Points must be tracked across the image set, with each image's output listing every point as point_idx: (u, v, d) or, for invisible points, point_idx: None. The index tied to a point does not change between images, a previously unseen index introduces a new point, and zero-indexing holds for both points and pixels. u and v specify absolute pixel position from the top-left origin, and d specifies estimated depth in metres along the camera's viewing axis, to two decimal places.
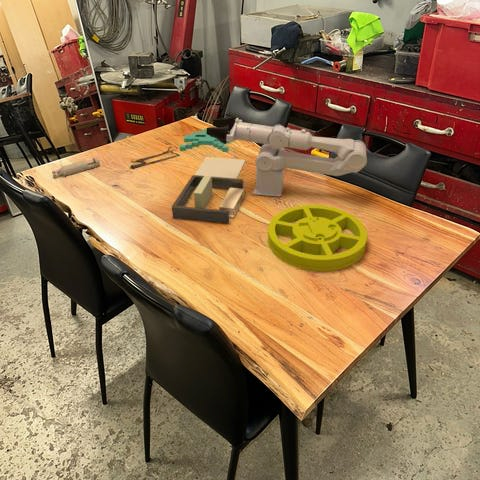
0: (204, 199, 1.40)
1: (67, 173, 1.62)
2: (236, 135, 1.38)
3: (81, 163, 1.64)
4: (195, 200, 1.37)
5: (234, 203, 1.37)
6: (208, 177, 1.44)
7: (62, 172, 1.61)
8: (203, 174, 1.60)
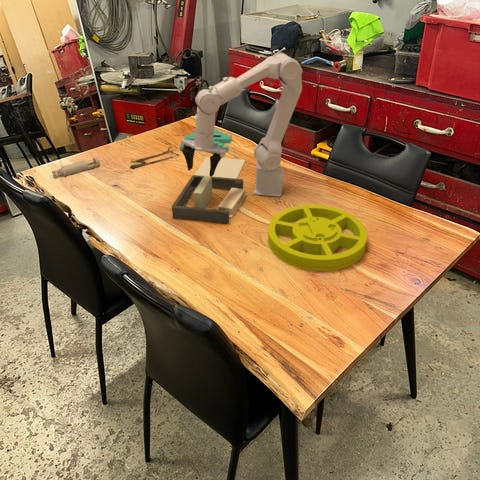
0: (204, 199, 1.40)
1: (67, 173, 1.62)
2: (212, 145, 1.34)
3: (81, 163, 1.64)
4: (195, 200, 1.37)
5: (233, 203, 1.37)
6: (208, 177, 1.44)
7: (62, 172, 1.61)
8: (203, 174, 1.60)
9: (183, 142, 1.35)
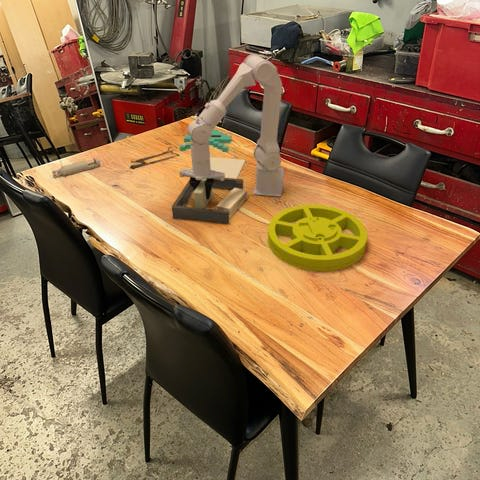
0: (204, 199, 1.40)
1: (67, 173, 1.62)
2: (210, 171, 1.38)
3: (81, 163, 1.64)
4: (195, 200, 1.37)
5: (232, 203, 1.37)
6: None
7: (62, 172, 1.61)
8: None
9: (182, 173, 1.39)
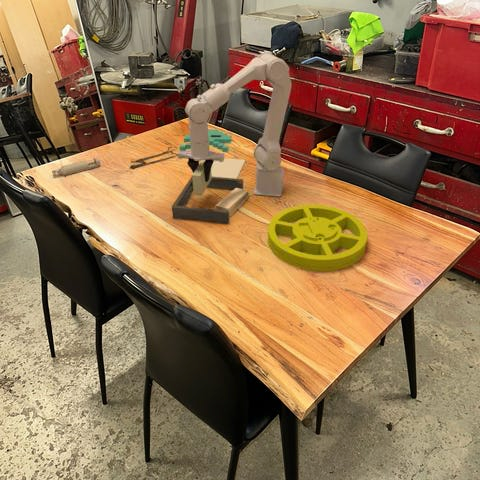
0: (203, 182, 1.37)
1: (67, 173, 1.62)
2: (209, 152, 1.34)
3: (81, 163, 1.64)
4: (193, 183, 1.34)
5: (231, 203, 1.37)
6: None
7: (62, 172, 1.61)
8: None
9: (180, 154, 1.35)
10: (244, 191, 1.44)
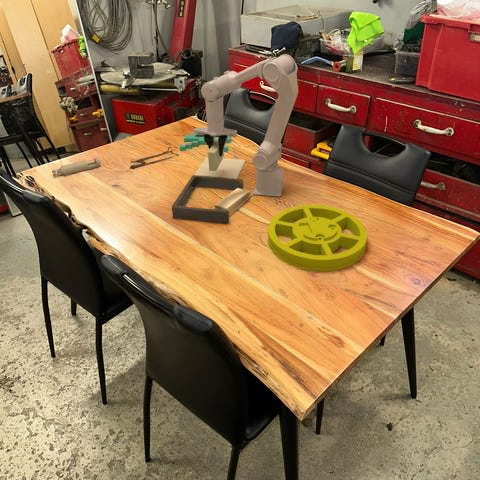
0: (217, 159, 1.51)
1: (67, 172, 1.62)
2: (223, 128, 1.48)
3: (81, 163, 1.64)
4: (209, 159, 1.48)
5: (230, 203, 1.37)
6: None
7: (62, 171, 1.61)
8: (203, 174, 1.60)
9: (197, 131, 1.49)
10: (245, 192, 1.43)
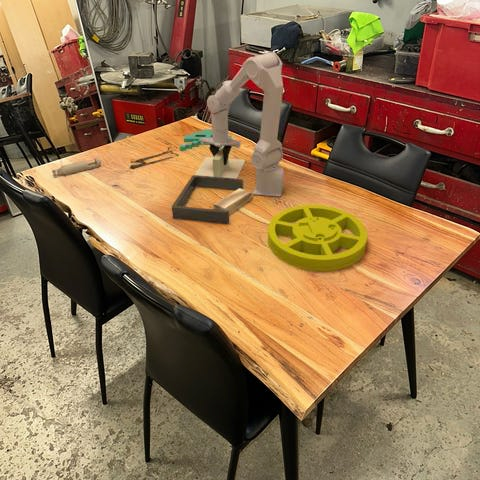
0: (222, 166, 1.58)
1: (67, 172, 1.62)
2: (228, 139, 1.56)
3: (81, 163, 1.64)
4: (213, 166, 1.56)
5: (229, 203, 1.37)
6: None
7: (62, 171, 1.61)
8: (203, 174, 1.60)
9: (203, 141, 1.57)
10: (246, 192, 1.43)
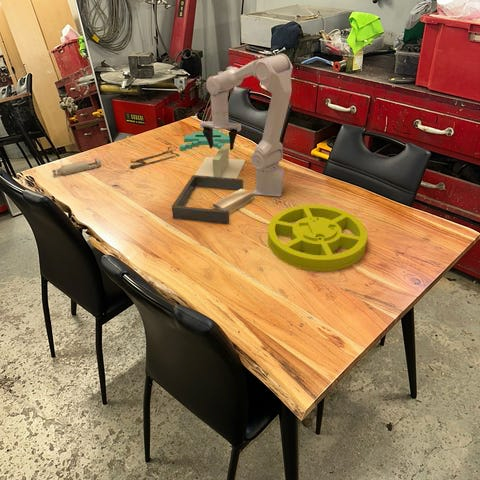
0: (222, 166, 1.58)
1: (67, 172, 1.62)
2: (228, 122, 1.52)
3: (82, 163, 1.64)
4: (213, 166, 1.56)
5: (228, 203, 1.37)
6: (225, 147, 1.62)
7: (62, 171, 1.61)
8: (203, 174, 1.60)
9: (202, 124, 1.53)
10: (247, 193, 1.42)
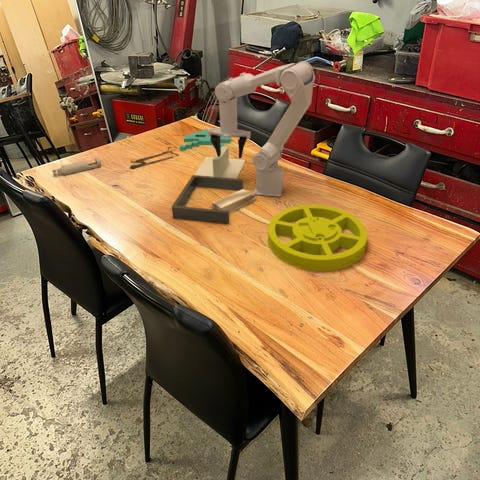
0: (222, 166, 1.58)
1: (67, 172, 1.62)
2: (237, 130, 1.46)
3: (82, 163, 1.64)
4: (213, 166, 1.56)
5: (227, 203, 1.37)
6: (225, 147, 1.62)
7: (62, 171, 1.61)
8: (203, 174, 1.60)
9: (210, 132, 1.47)
10: (248, 194, 1.42)
